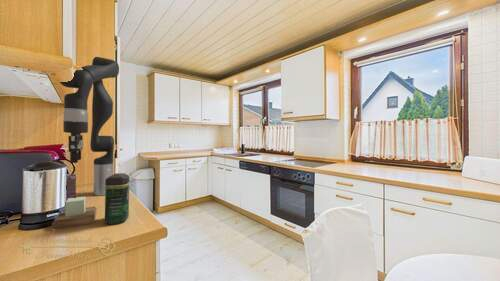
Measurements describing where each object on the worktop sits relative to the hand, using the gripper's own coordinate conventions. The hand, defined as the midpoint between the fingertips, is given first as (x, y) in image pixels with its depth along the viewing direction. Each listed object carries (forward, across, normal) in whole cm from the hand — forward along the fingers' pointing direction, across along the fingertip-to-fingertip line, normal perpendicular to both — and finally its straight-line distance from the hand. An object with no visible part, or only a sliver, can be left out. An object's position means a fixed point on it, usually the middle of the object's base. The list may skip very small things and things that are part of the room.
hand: (75, 161), depth 83 cm
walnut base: (+23, +3, 0) cm, 23 cm away
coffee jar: (+23, +10, +14) cm, 29 cm away
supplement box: (+24, -15, -6) cm, 29 cm away
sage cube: (+20, +2, 0) cm, 20 cm away
